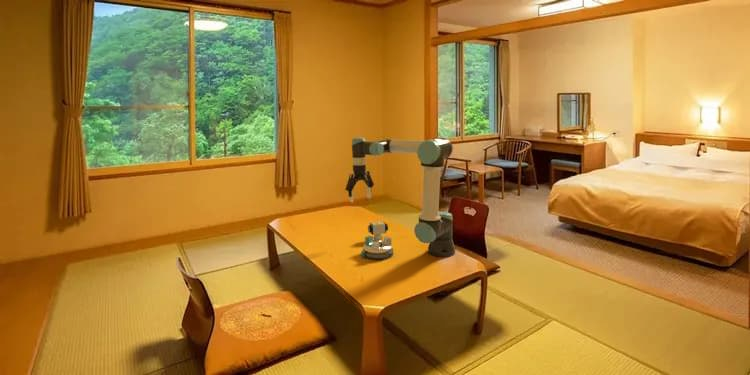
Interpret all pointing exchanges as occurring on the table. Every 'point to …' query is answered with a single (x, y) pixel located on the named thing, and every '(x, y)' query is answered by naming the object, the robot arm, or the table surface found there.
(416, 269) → the table surface
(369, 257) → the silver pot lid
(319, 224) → the table surface
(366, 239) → the lathe chuck
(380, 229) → the pneumatic valve
